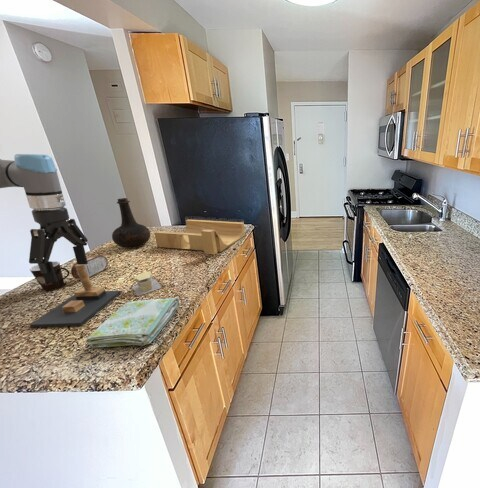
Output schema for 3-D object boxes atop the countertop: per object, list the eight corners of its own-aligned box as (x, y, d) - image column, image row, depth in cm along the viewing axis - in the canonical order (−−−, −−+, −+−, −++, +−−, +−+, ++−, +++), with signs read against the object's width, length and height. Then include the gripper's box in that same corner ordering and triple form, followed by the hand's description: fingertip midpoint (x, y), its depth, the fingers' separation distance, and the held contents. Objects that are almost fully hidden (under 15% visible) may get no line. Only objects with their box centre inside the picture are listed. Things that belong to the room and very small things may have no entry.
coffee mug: (35, 290, 108) (24, 268, 104) (60, 280, 115) (51, 260, 111) (51, 295, 104) (41, 273, 100) (77, 285, 111) (68, 264, 108)
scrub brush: (76, 300, 99) (63, 267, 94) (85, 294, 103) (72, 262, 97) (98, 299, 99) (86, 267, 94) (106, 293, 103) (94, 262, 98)
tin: (105, 267, 127) (100, 251, 124) (111, 267, 127) (105, 251, 124) (74, 282, 113) (67, 265, 110) (80, 283, 113) (73, 265, 110)
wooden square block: (64, 312, 92) (61, 307, 91) (73, 306, 95) (71, 300, 94) (76, 312, 92) (73, 306, 91) (85, 305, 96) (82, 300, 95)
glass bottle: (108, 249, 148) (91, 200, 137) (137, 238, 164) (124, 194, 153) (132, 253, 143) (116, 203, 132) (159, 241, 159) (148, 196, 148)
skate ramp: (245, 236, 170) (243, 212, 164) (214, 257, 137) (210, 228, 132) (190, 232, 176) (186, 209, 171) (149, 252, 144) (142, 224, 138)
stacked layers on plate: (162, 287, 110) (159, 276, 107) (137, 296, 104) (133, 284, 102) (155, 279, 116) (152, 268, 114) (131, 286, 110) (128, 275, 108)
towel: (85, 351, 77) (79, 337, 75) (131, 308, 96) (127, 296, 94) (149, 348, 77) (144, 335, 76) (181, 306, 97) (178, 294, 95)
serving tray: (30, 327, 86) (29, 324, 86) (79, 294, 105) (78, 291, 104) (81, 325, 87) (80, 322, 87) (121, 293, 106) (120, 290, 105)
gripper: (26, 217, 67) (51, 290, 74) (90, 201, 90) (104, 257, 97) (-9, 217, 66) (19, 291, 73) (66, 200, 89) (81, 258, 96)
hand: (68, 272), depth 85 cm, fingers open, 13 cm apart
